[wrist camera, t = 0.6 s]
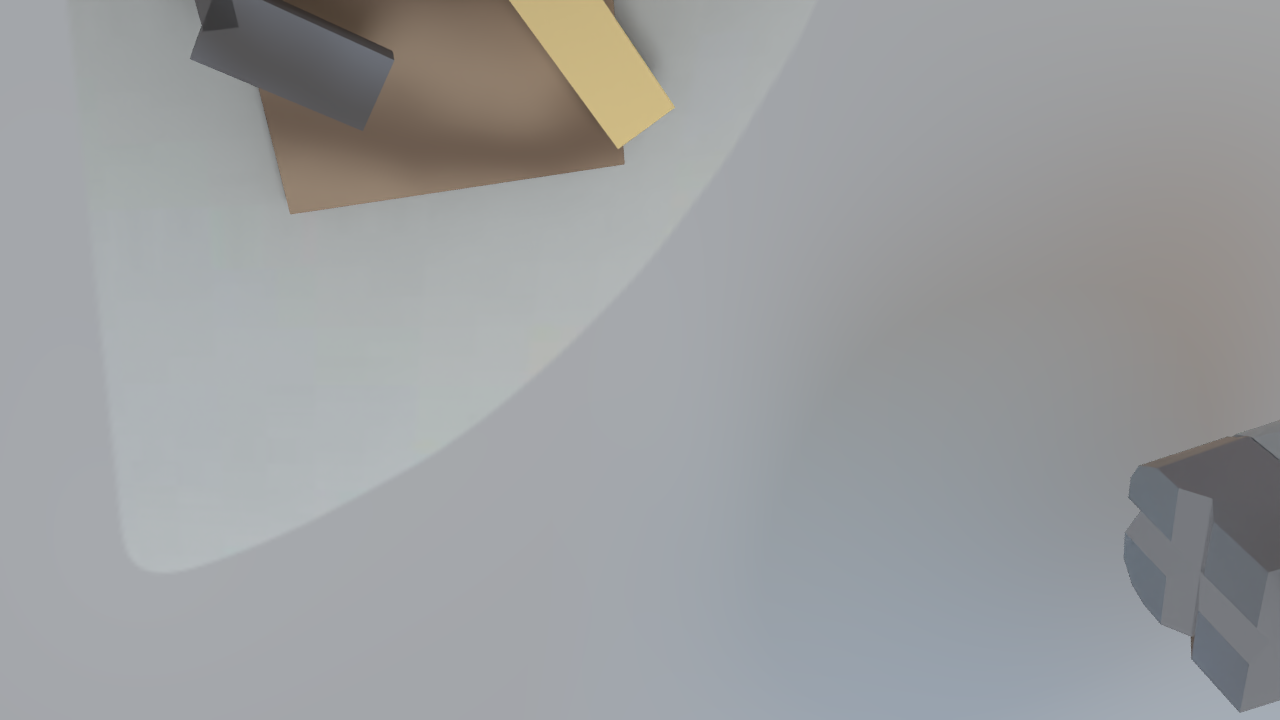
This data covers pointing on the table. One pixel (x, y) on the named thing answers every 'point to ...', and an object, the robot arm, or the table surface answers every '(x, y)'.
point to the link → (598, 63)
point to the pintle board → (401, 95)
